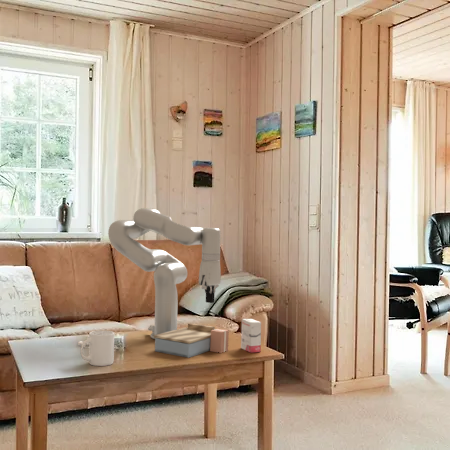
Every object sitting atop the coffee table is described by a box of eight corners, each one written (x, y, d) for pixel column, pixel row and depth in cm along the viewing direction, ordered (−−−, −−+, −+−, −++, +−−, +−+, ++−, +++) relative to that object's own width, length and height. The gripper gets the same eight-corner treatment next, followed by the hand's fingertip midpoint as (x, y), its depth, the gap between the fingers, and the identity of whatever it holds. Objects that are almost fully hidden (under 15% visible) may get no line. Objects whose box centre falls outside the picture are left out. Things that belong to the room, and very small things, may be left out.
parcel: (210, 351, 226) (210, 330, 226) (217, 348, 231) (217, 328, 230) (221, 353, 224) (221, 332, 224) (228, 350, 228) (228, 330, 228)
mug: (75, 363, 203) (75, 332, 202) (106, 359, 210) (107, 329, 210) (85, 369, 196) (86, 337, 196) (118, 364, 203) (118, 333, 203)
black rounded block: (75, 347, 228) (75, 336, 228) (87, 343, 236) (87, 333, 236) (94, 349, 225) (94, 339, 225) (105, 345, 232) (105, 335, 232)
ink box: (261, 352, 227) (262, 322, 227) (249, 353, 225) (250, 322, 225) (251, 347, 235) (252, 318, 235) (240, 348, 233) (241, 318, 233)
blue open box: (154, 351, 224) (155, 338, 224) (185, 342, 241) (185, 330, 240) (188, 357, 215) (189, 344, 215) (218, 347, 232) (218, 335, 232)
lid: (154, 337, 223) (154, 330, 223) (185, 329, 241) (185, 322, 241) (189, 343, 215) (189, 336, 215) (219, 334, 232) (219, 327, 232)
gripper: (213, 256, 248) (212, 299, 249) (192, 258, 236) (191, 303, 236) (228, 257, 244) (227, 301, 245) (208, 259, 232) (207, 305, 232)
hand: (209, 302), depth 240 cm, fingers closed
